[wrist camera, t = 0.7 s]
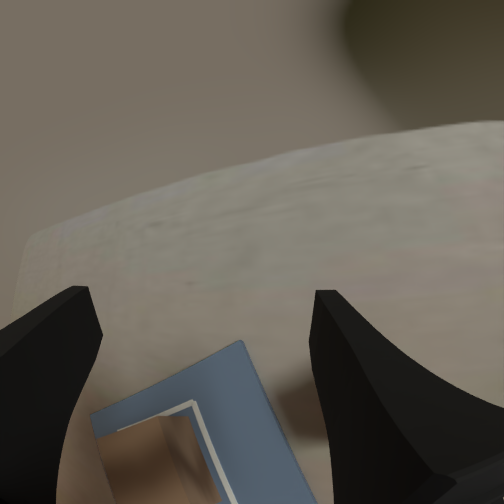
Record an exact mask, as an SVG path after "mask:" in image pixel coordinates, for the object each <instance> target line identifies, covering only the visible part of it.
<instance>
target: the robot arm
mask: <svg viewBox="0 0 504 504" xmlns="http://www.w3.org/2000/svg"><path fill="white" fill-rule="evenodd" d="M102 337H103V333H102V330H101V327H100V324H99V321H98V318H97V315H96V312H95V309H94V305H93V302H92V299H91V295H90V292H89V288H88V286H72V287H69V288H67V289H65V290H63V291H62V292H60V293H58V294H57V295H55V296H53V297H52V298H50V299H49V300H47V301H45V302H44V303H42V304H41V305H39V306H38V307H36V308H35V309H33V310H31V311H30V312H28V313H27V314H25V315H24V316H22V317H21V318H19V319H17V320H16V321H14V322H12V323H11V324H9V325H8V326H6V327H5V328H3V329H1V330H0V504H56V488H57V478H58V470H59V463H60V458H61V453H62V448H63V443H64V439H65V435H66V431H67V427H68V424H69V420H70V418H71V415H72V412H73V410H74V407H75V405H76V403H77V400H78V398H79V396H80V393H81V391H82V389H83V387H84V384H85V382H86V380H87V378H88V376H89V373H90V371H91V369H92V367H93V364H94V362H95V360H96V357H97V354H98V351H99V347H100V344H101V340H102ZM309 348H310V357H311V365H312V371H313V375H314V379H315V384H316V388H317V392H318V396H319V400H320V404H321V408H322V412H323V416H324V420H325V424H326V429H327V434H328V440H329V448H330V457H331V467H332V479H333V493H334V504H504V500H503V497H504V408H502V407H499V406H496V405H493V404H491V403H489V402H486V401H484V400H482V399H480V398H477V397H475V396H473V395H471V394H469V393H467V392H465V391H463V390H461V389H459V388H457V387H455V386H454V385H452V384H450V383H448V382H447V381H445V380H443V379H441V378H440V377H438V376H436V375H435V374H433V373H432V372H430V371H428V370H427V369H426V368H424V367H423V366H421V365H420V364H418V363H417V362H416V361H414V360H413V359H411V358H410V357H409V356H407V355H406V354H405V353H403V352H402V351H401V350H400V349H398V348H397V347H396V346H395V345H394V344H392V343H391V342H390V341H389V340H388V339H386V338H385V337H384V336H383V335H382V334H381V333H380V332H379V331H377V330H376V329H375V328H374V327H373V326H372V325H371V324H370V323H369V322H368V321H367V320H366V319H365V318H364V317H363V316H362V315H361V314H360V313H359V312H357V311H356V310H355V309H354V308H353V307H352V306H351V305H350V304H349V303H348V301H347V300H346V299H345V298H344V297H343V296H342V295H340V294H339V293H338V292H337V291H336V290H316V293H315V301H314V308H313V316H312V323H311V330H310V337H309Z"/></svg>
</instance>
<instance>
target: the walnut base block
mask: <svg viewBox="0 0 504 504" xmlns="http://www.w3.org/2000/svg"><path fill="white" fill-rule="evenodd" d="M96 441H97V445H98V448H99V452H100V456H101V459H102V462H103V466H104V469H105V472H106V475H107V478H108V481H109V484H110V487H111V490H112V493H113V496H114V499H115V501H116V504H217V503H219V502H221V501H222V499H221V497H220V494H219V492H218V490H217V488H216V485H215V483H214V481H213V478H212V476H211V474H210V471H209V469H208V466H207V464H206V461H205V459H204V456H203V454H202V451H201V449H200V446H199V444H198V441H197V438H196V436H195V433H194V430H193V428H192V425H191V422H190V419H189V416H156V417H153V418H151V419H148V420H146V421H143V422H141V423H138V424H136V425H133V426H131V427H128V428H125V429H123V430H120V431H117V432H114V433H112V434H109V435H106V436H103V437H100V438H98V439H96Z"/></svg>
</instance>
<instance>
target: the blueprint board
mask: <svg viewBox="0 0 504 504" xmlns="http://www.w3.org/2000/svg"><path fill="white" fill-rule="evenodd" d="M156 416H189V419H190V422H191V425H192V428H193V430H194V433H195V436H196V438H197V441H198V444H199V446H200V449H201V451H202V454H203V456H204V459H205V461H206V464H207V466H208V469H209V471H210V474H211V476H212V478H213V481H214V483H215V485H216V488H217V490H218V492H219V494H220V497H221V499H222V501H221V502H219V503H217V504H317V502H316V500H315V498H314V496H313V494H312V492H311V490H310V488H309V486H308V484H307V481H306V479H305V477H304V475H303V473H302V471H301V469H300V467H299V465H298V463H297V461H296V459H295V457H294V454H293V452H292V450H291V448H290V446H289V444H288V442H287V439H286V437H285V435H284V433H283V431H282V429H281V427H280V424H279V422H278V420H277V418H276V416H275V413H274V411H273V409H272V407H271V404H270V402H269V400H268V398H267V396H266V393H265V391H264V389H263V386H262V384H261V382H260V380H259V377H258V375H257V373H256V370H255V368H254V366H253V364H252V361H251V359H250V357H249V354H248V352H247V350H246V347H245V345H244V342H243V341H242V340H239V341H237V342H235V343H234V344H232V345H230V346H228V347H226V348H224V349H223V350H221V351H219V352H217V353H215V354H213V355H211V356H210V357H208V358H206V359H204V360H202V361H200V362H198V363H196V364H194V365H193V366H191V367H189V368H187V369H185V370H183V371H181V372H179V373H177V374H175V375H173V376H171V377H169V378H167V379H165V380H163V381H161V382H159V383H157V384H155V385H153V386H151V387H149V388H147V389H145V390H143V391H141V392H139V393H137V394H134V395H132V396H130V397H128V398H126V399H124V400H122V401H120V402H117V403H115V404H113V405H111V406H109V407H106V408H104V409H102V410H100V411H98V412H95V413H93V414H91V415H90V418H91V422H92V426H93V430H94V434H95V438H96V439H98V438H100V437H103V436H106V435H109V434H112V433H114V432H117V431H120V430H123V429H125V428H128V427H131V426H133V425H136V424H138V423H141V422H143V421H146V420H148V419H151V418H153V417H156ZM96 442H97V441H96ZM97 446H98V445H97ZM98 449H99V448H98ZM99 453H100V452H99ZM101 460H102V459H101ZM102 463H103V462H102ZM104 470H105V469H104ZM105 473H106V472H105ZM106 476H107V475H106ZM107 479H108V478H107ZM108 482H109V481H108ZM109 485H110V484H109ZM110 488H111V487H110ZM111 491H112V490H111ZM112 494H113V493H112ZM113 497H114V496H113ZM115 502H116V501H115Z"/></svg>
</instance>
